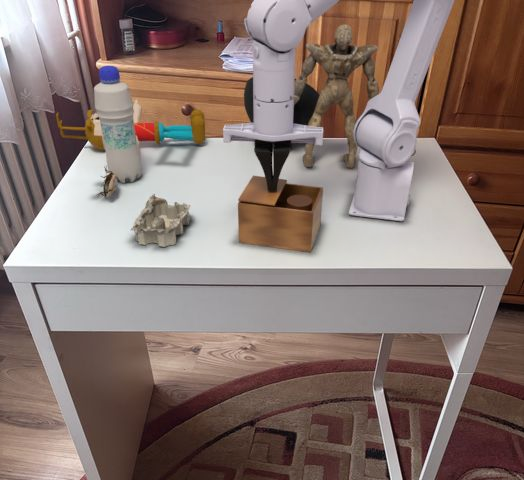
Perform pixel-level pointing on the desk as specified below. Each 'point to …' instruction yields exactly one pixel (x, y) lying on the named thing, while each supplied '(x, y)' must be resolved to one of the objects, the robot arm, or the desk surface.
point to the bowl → (301, 108)
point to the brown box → (282, 221)
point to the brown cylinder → (299, 202)
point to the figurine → (337, 83)
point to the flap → (261, 191)
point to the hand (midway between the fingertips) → (272, 187)
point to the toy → (142, 129)
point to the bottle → (117, 124)
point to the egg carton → (161, 222)
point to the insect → (109, 183)
